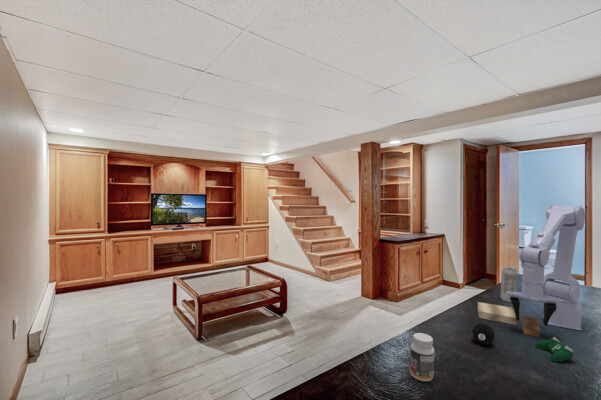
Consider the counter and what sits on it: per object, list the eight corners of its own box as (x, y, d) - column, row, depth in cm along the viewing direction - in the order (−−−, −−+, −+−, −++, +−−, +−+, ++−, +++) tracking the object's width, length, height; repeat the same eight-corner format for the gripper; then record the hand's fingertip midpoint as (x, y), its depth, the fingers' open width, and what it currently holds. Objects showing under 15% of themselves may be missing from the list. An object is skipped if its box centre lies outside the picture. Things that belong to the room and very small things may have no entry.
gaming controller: (561, 370, 84) (580, 357, 83) (551, 359, 84) (569, 346, 83) (542, 353, 93) (558, 341, 92) (532, 343, 93) (549, 331, 92)
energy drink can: (515, 300, 136) (517, 267, 136) (517, 304, 131) (518, 270, 130) (500, 297, 139) (501, 265, 139) (500, 301, 134) (502, 268, 133)
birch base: (511, 315, 119) (512, 307, 119) (517, 326, 109) (517, 318, 109) (477, 308, 125) (477, 301, 125) (478, 318, 114) (479, 311, 114)
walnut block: (536, 332, 103) (537, 318, 103) (539, 337, 99) (540, 322, 99) (522, 329, 105) (523, 315, 105) (524, 334, 101) (525, 319, 101)
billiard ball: (470, 343, 94) (471, 324, 94) (474, 336, 98) (474, 318, 98) (492, 350, 90) (493, 330, 90) (495, 342, 94) (496, 324, 94)
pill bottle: (405, 369, 78) (406, 331, 78) (426, 368, 79) (427, 331, 79) (415, 382, 73) (417, 342, 73) (438, 382, 73) (439, 342, 73)
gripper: (508, 281, 102) (507, 321, 102) (564, 289, 95) (562, 331, 95) (506, 277, 108) (504, 314, 108) (557, 284, 101) (555, 323, 101)
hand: (531, 322), depth 102 cm, fingers open, 7 cm apart
